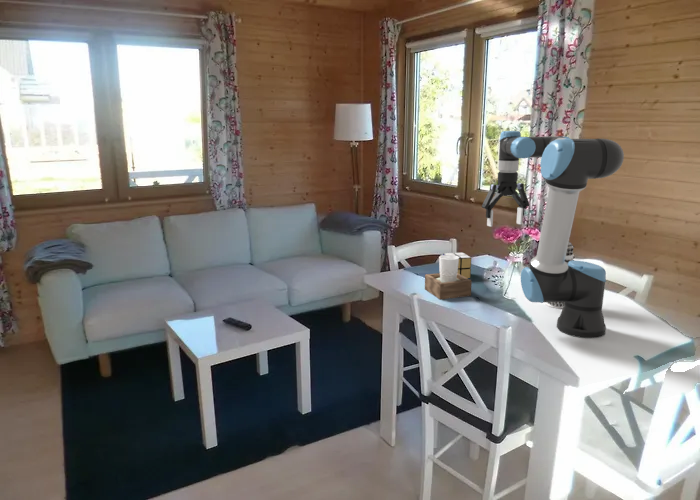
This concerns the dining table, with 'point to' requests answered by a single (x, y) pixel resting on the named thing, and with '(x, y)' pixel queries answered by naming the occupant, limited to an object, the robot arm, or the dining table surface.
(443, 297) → the wooden box
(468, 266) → the puzzle cube
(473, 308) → the dining table surface
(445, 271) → the white cup
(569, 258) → the decorative candle
